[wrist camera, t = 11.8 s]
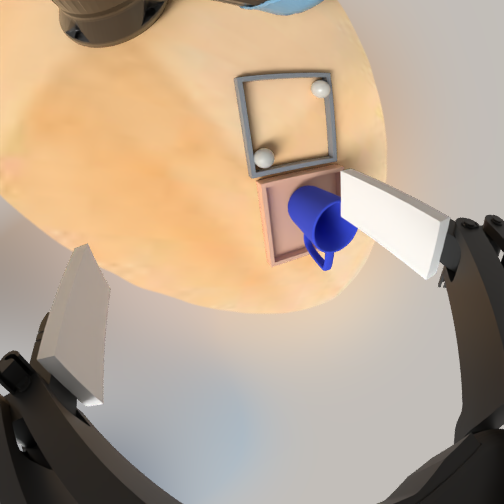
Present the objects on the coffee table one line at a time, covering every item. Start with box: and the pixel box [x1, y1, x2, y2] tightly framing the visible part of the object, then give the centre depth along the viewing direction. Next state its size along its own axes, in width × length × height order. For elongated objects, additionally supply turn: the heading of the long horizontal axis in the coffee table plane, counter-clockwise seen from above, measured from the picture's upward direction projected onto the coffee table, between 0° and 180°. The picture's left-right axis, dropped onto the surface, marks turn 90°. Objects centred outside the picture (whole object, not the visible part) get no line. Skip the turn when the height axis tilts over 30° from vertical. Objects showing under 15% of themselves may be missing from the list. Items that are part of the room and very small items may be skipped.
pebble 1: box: [254, 148, 275, 168], centre depth 38 cm, size 3×3×3 cm
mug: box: [288, 185, 358, 271], centre depth 42 cm, size 8×12×10 cm
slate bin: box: [234, 73, 337, 178], centre depth 37 cm, size 15×15×1 cm
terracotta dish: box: [256, 164, 344, 267], centre depth 45 cm, size 15×15×2 cm
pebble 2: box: [311, 80, 330, 98], centre depth 35 cm, size 3×3×3 cm
